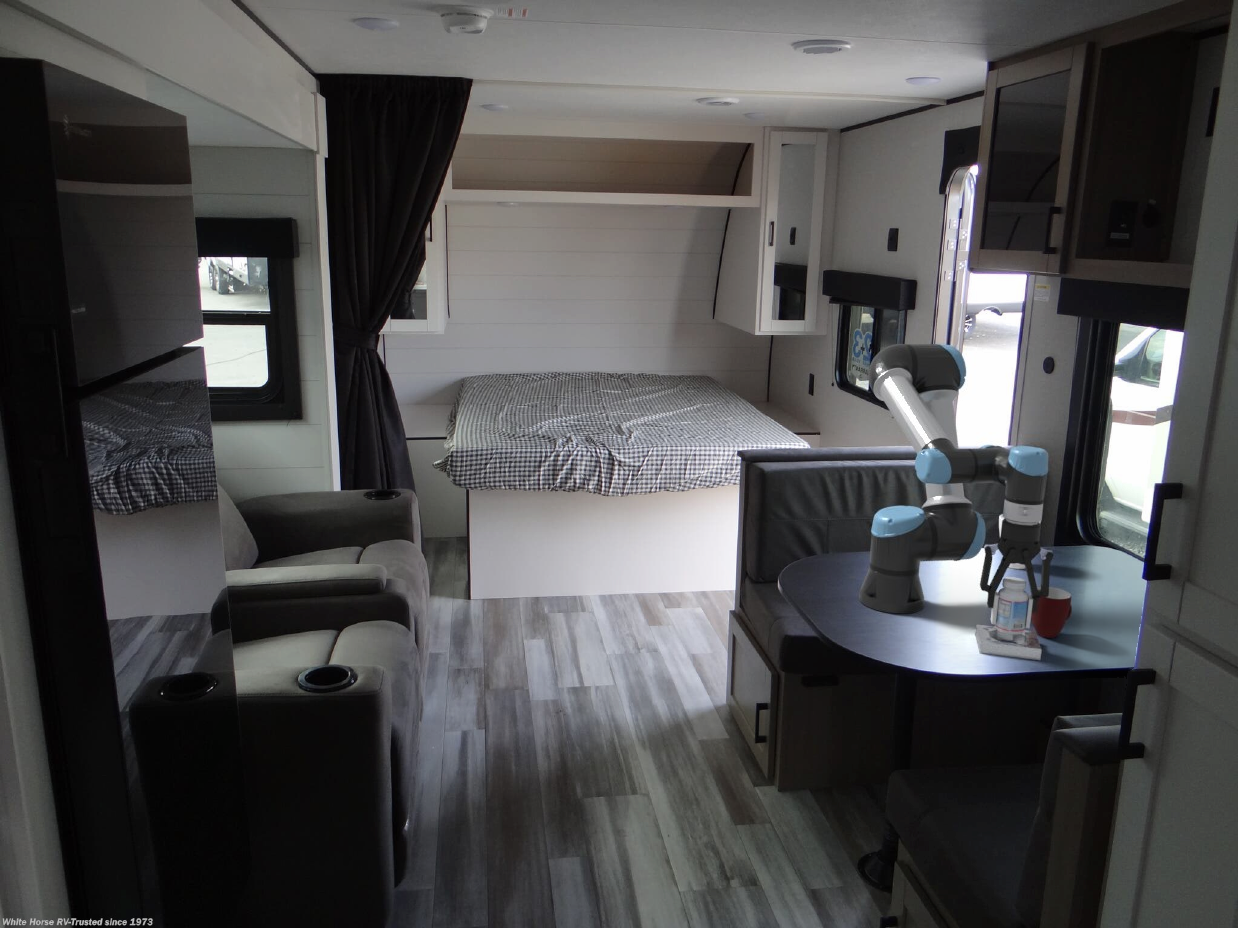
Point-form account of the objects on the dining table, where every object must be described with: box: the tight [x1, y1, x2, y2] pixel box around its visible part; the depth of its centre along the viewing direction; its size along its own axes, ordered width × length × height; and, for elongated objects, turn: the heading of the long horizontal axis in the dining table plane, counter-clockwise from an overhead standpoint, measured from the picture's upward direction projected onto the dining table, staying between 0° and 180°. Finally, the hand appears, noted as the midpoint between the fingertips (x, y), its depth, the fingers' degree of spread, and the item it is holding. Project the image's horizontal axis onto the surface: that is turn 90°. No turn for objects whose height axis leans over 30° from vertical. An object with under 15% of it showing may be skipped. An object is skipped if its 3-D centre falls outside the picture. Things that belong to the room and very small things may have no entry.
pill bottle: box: [994, 576, 1029, 634], centre depth 198 cm, size 6×6×11 cm
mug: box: [1030, 586, 1073, 639], centre depth 207 cm, size 11×8×10 cm
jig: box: [974, 624, 1042, 661], centre depth 200 cm, size 12×10×2 cm
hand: (1009, 623), depth 199 cm, fingers closed on pill bottle, 6 cm apart
